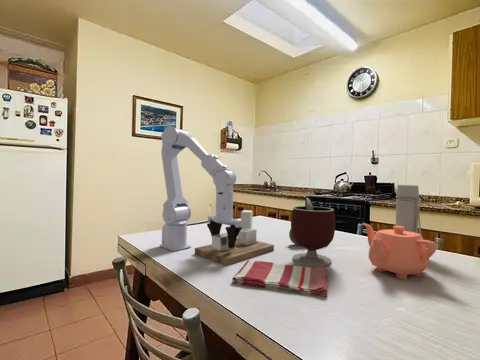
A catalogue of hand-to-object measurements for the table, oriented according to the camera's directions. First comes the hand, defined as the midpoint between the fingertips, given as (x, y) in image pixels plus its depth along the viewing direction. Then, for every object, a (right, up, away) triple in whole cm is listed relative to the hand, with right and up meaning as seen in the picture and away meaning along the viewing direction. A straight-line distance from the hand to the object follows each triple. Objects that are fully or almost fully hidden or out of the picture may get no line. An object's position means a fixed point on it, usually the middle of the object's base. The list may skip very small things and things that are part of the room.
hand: (223, 245), depth 90 cm
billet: (0, -4, 0) cm, 4 cm away
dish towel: (+17, -5, -19) cm, 25 cm away
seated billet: (+8, -3, +9) cm, 12 cm away
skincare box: (+8, -3, +25) cm, 27 cm away
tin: (+33, -4, +17) cm, 37 cm away
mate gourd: (+29, -4, -3) cm, 29 cm away
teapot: (+51, -5, -12) cm, 52 cm away
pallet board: (+4, -3, +4) cm, 7 cm away
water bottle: (+68, -5, +8) cm, 68 cm away
